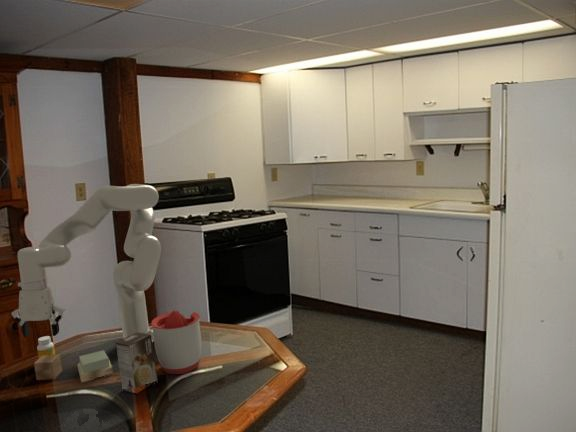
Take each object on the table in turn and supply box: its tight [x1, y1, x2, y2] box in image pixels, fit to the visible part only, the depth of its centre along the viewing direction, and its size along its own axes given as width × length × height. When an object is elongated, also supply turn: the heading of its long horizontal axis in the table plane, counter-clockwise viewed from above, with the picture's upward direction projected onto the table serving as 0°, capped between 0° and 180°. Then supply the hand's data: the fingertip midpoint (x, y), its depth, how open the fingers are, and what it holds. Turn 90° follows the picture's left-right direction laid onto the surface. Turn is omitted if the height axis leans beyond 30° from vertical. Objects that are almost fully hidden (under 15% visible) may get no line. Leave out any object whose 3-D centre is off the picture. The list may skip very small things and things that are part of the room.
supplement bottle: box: [36, 335, 56, 359], centre depth 191 cm, size 5×5×10 cm
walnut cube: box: [33, 354, 63, 381], centre depth 182 cm, size 6×6×6 cm
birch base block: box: [77, 355, 114, 383], centre depth 182 cm, size 10×10×3 cm
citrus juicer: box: [150, 309, 202, 375], centre depth 181 cm, size 16×17×20 cm
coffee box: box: [115, 332, 158, 390], centre depth 169 cm, size 9×6×16 cm
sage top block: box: [78, 349, 110, 373], centre depth 182 cm, size 8×8×3 cm
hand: (41, 335), depth 180 cm, fingers open, 9 cm apart
